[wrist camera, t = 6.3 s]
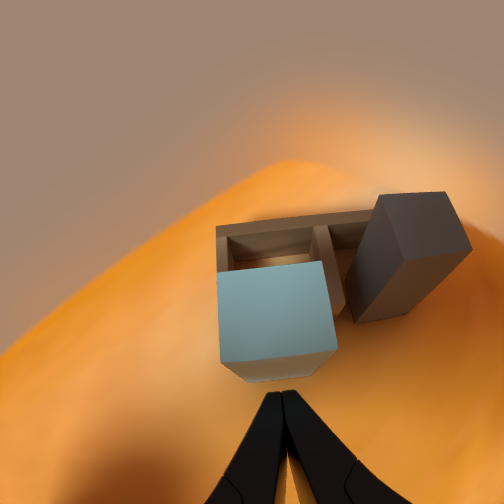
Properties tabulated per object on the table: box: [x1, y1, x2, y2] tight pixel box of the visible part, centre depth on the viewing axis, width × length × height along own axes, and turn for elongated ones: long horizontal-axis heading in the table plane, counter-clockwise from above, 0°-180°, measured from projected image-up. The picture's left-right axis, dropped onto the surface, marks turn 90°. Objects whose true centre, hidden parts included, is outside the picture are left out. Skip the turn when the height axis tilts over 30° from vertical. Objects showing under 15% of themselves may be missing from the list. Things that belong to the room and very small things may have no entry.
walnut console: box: [216, 210, 425, 321], centre depth 17 cm, size 6×12×3 cm, turn 95°
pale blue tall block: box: [217, 261, 338, 383], centre depth 12 cm, size 3×4×8 cm
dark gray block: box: [345, 192, 473, 324], centre depth 13 cm, size 3×4×8 cm
